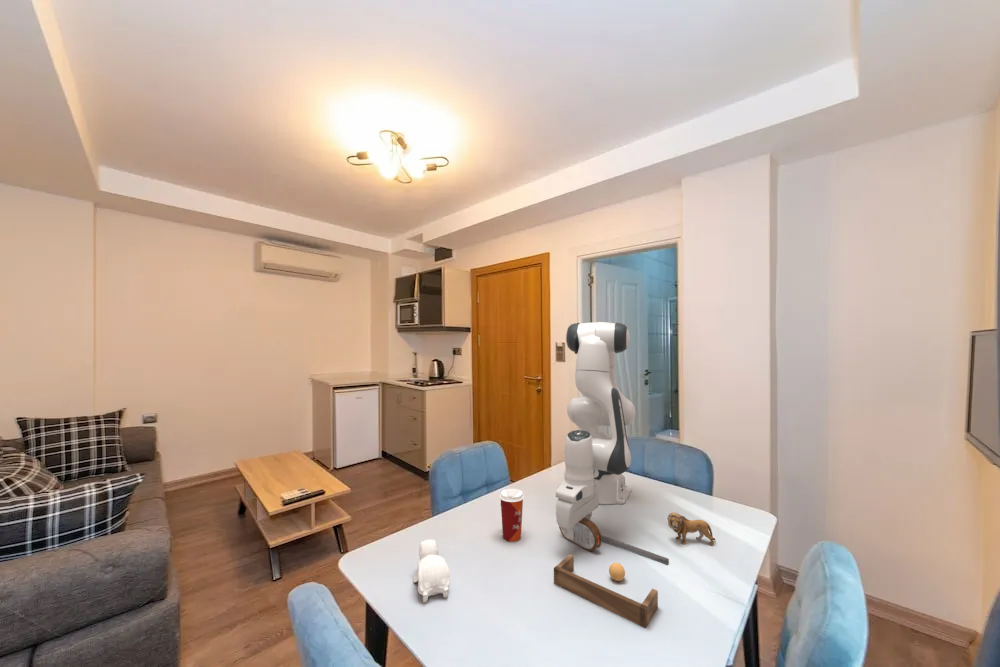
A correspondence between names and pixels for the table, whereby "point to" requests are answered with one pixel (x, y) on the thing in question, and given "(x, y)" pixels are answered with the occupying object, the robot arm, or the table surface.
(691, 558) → the table surface
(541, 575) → the table surface
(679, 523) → the lion figurine
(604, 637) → the table surface
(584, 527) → the tin
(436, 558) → the white animal figurine
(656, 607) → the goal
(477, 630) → the table surface
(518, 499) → the paper cup
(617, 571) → the ball
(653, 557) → the rail
